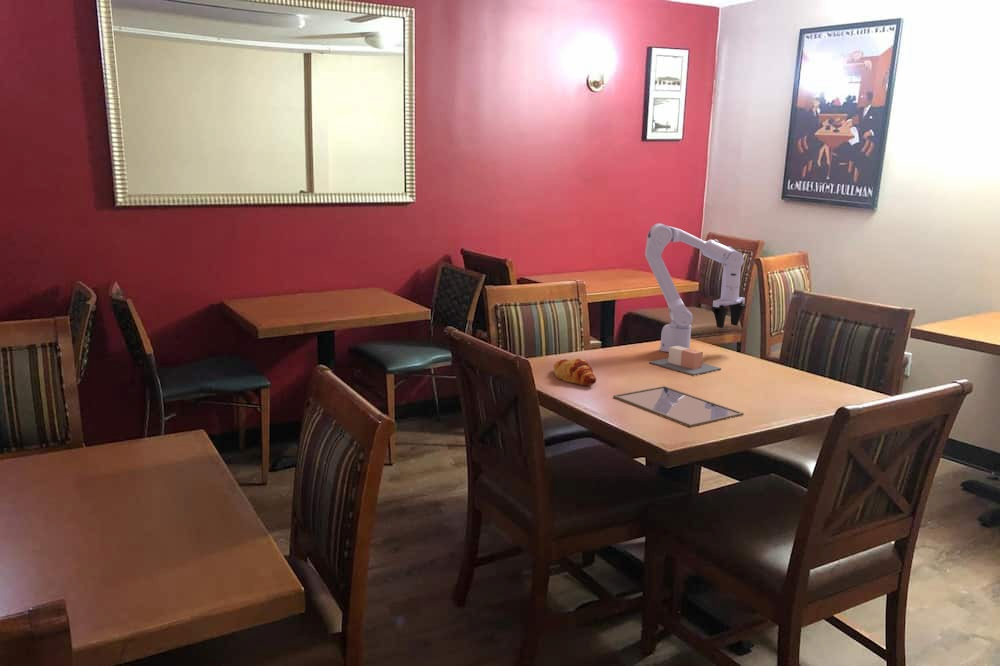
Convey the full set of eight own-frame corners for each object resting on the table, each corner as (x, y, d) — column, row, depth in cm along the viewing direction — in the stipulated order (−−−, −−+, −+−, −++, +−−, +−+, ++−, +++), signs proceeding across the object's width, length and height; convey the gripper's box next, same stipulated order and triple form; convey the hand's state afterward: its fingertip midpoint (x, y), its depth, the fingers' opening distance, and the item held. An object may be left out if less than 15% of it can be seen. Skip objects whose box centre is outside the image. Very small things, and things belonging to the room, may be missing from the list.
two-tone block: (693, 369, 240) (694, 353, 239) (668, 362, 247) (669, 347, 246) (701, 367, 242) (702, 351, 241) (676, 360, 250) (677, 345, 249)
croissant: (547, 382, 236) (537, 361, 233) (572, 364, 240) (562, 343, 237) (586, 400, 218) (576, 377, 215) (612, 380, 221) (603, 357, 218)
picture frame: (743, 416, 198) (664, 389, 221) (743, 412, 198) (664, 385, 221) (690, 429, 188) (613, 399, 211) (690, 425, 188) (613, 395, 210)
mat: (649, 363, 248) (649, 361, 248) (676, 357, 256) (676, 356, 256) (694, 375, 234) (694, 374, 234) (721, 369, 242) (721, 368, 242)
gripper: (726, 289, 251) (723, 330, 254) (754, 286, 259) (750, 325, 262) (709, 286, 256) (705, 327, 259) (736, 283, 265) (733, 322, 268)
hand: (727, 326), depth 261 cm, fingers open, 7 cm apart
